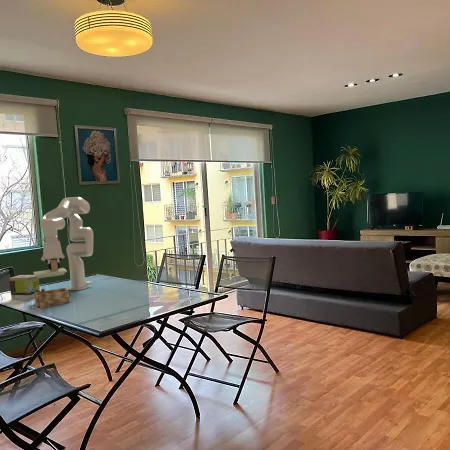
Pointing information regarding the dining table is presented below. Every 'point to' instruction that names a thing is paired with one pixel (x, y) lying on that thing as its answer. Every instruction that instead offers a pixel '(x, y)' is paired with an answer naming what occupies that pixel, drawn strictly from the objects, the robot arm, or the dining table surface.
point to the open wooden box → (52, 298)
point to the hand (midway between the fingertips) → (54, 269)
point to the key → (43, 293)
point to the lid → (51, 271)
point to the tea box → (24, 287)
